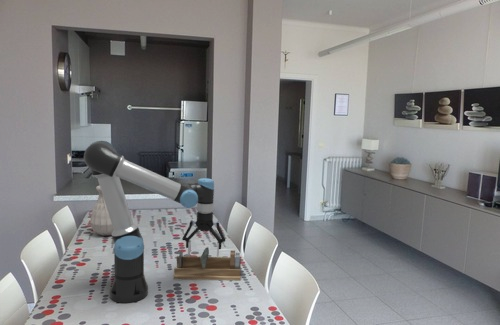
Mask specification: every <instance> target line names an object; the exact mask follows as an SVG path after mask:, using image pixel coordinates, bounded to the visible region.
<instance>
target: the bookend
mask: <svg viewBox="0 0 500 325" xmlns="http://www.w3.org/2000/svg"><path fill="white" fill-rule="evenodd" d="M178 256H179V268H183V256H184V251H183V250H181V251H180V253H179V254H178Z"/></svg>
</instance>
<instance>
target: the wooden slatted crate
mask: <svg viewBox="0 0 500 325" xmlns="http://www.w3.org/2000/svg"><path fill="white" fill-rule="evenodd" d="M229 254H230V257H229V256H218V257H217V256H208V259H207V263H206V266H205V269H203V267H202V263H201V260H200V257H201V256H194V255H193V256H191V255H187V256H186V255H183V268H179V255H177V256H176V267H174V268H173V280H192V281H193V280H195V281H196V280H198V281H199V280H201V281H204V280H206V281H207V280H208V281H241V273H242V271H241V264H242V263H241V262H242V257H240V256H241V255H240V254H241V253H240V252H236V250H230V253H229Z"/></svg>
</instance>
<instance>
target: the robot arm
mask: <svg viewBox="0 0 500 325" xmlns="http://www.w3.org/2000/svg"><path fill="white" fill-rule="evenodd" d="M83 162H84V163H85V165H86V166H87V167H88V168H89V169H90V173H91V175H92V176H93V177H94V178H96V179H97V181H98V184H99V185H100V188H101V191H102V194H103V197H104V200H105V203H106V207H107V210H108V213H109V216H110V219H111V222H112V225H113V229H114V230H113V232H112V235H111V237H112V240H113V243H114V246H113V252H114V253H113V256H114V257H113V258H114V263H113V264H114V279H113V282H112V285H111V288H110V293H109V294H110V295H109V297H110V299H111V300H112V301H114V302H117V303H126V304H127V303H133V302H134V303H135V302H137V301H140V300H143V299H144V298H146V297H147V296H148V294H149V286H148V283H147V279H146V277H145V273H144V272H145V271H144V270H145V269H144V267H145V254H144V253H145V243H144V238H143V236H142V234H141V232H140V228H139V226H138V224H136V223H134V221H133V218H132V214H131V212H130V208H129V205H128V201H127V199H126V198H127V197H126V196H125V192H124V188H123V184H122V182H121V179H122V180H124V181H127V182H128V183H129V182H130V183H132V184H133V185H136V186H138V187H140V188H143V189H145V190H147V191H150V192H153V193H155V194H157V195H160V196H162V197H164V198H167V199H169V200H171V201H174V202H176V203H178V204H180V205H181V206H182V207H184V208H186V209H191V208H193V207H195V206H196V211H197V212H196V221H195V220H192V219H191V220H190V221H189V226H188V227H187V229H186V231H185V233H184V234H183V237H182V241H184V242H185V248H186V249H187V250H188V251H187V256H191V242H192V241H191V239H192V238H193V237H194V236H195V235H196V234H197V233H198V232H210V234H212V236H213V237H214V239H216V241H217V242H216V244H217V245H216V257H220V256H219V255H220V254H219V253H220V250H221V249H222V243H225V242H226V237H225V235H224V232H223V231H222V230H223V229H222V228H221V227H220V221H219V220H217V221H215V222H214V220H213V219H214V213H213V212H214V197H215V195H214V194H215V182H214V180H213V179H211V178H206V177H205V178H204V177H203V178H199V179H197V182H193V183H191V182H190V183H189V182H188V183H186V182H184V183H183V182H176V181H175V180H172V179H169V178H168V177H165V176H163V175H161V174H159V173H157V172H153V170H149V169H147V168H145V167H143V166H140V165H138V164H136V163H134V162H131V161H129V160H127V159H126V158H125V157H124V155H122V154H120V153H118V152H117V150H116V147H115V145H113V144H112V143H111V142H109V141H106V140H97V141H94V142H92V143H91V144H89V146H87V148H86V149H85V150H84V153H83ZM99 185H98V186H99ZM194 225H195V226H196V228H195V229H194V230H193V231H192V232H191V233H190V231H191V229H192V227H194ZM213 226H215V228H216V229H217V232H218V233H219V235H218V233H217V232H216V231H215V230H214V228H213ZM189 233H190V234H189Z"/></svg>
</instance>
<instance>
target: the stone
mask: <svg viewBox="0 0 500 325" xmlns="http://www.w3.org/2000/svg"><path fill="white" fill-rule="evenodd" d="M209 251H210V250H209V246H206V247H205V249H204V250H203V252H202V254H201V255H200V256H199V257H200V260H201V263H202V267H203V269H205V266H206V263H207V259H208V257H209V255H210V252H209Z"/></svg>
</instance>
